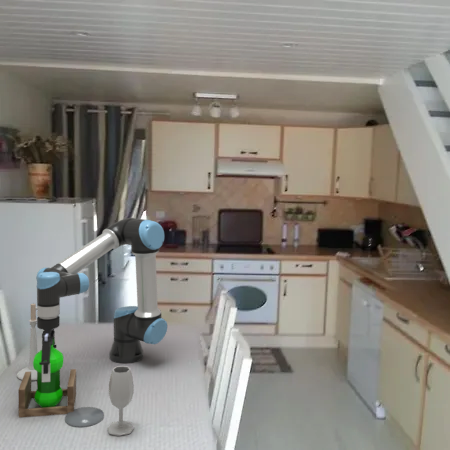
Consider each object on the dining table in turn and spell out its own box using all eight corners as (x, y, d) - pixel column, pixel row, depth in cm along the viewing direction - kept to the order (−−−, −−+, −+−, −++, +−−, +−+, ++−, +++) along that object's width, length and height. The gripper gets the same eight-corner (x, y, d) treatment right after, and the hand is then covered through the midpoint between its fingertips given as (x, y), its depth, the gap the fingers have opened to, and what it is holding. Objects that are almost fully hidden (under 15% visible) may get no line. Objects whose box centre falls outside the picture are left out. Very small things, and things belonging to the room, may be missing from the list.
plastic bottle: (40, 398, 185) (39, 333, 182) (68, 399, 185) (67, 334, 182) (28, 411, 175) (27, 343, 172) (58, 412, 175) (57, 344, 172)
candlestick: (17, 370, 209) (16, 300, 206) (50, 367, 213) (49, 298, 210) (16, 382, 197) (15, 308, 194) (50, 378, 201) (50, 305, 198)
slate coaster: (104, 407, 180) (104, 405, 180) (103, 425, 167) (103, 423, 167) (66, 409, 177) (66, 408, 177) (63, 428, 164) (63, 427, 164)
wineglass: (109, 423, 169) (109, 363, 167) (135, 422, 170) (136, 363, 168) (105, 436, 161) (105, 374, 158) (132, 436, 161) (133, 374, 159)
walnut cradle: (76, 394, 189) (76, 369, 188) (73, 413, 175) (73, 386, 174) (25, 397, 185) (25, 371, 184) (18, 417, 171) (18, 389, 169)
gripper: (41, 306, 187) (41, 360, 190) (31, 327, 163) (32, 389, 165) (62, 306, 189) (62, 359, 191) (55, 326, 165) (55, 388, 167)
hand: (48, 373), depth 178 cm, fingers open, 13 cm apart
